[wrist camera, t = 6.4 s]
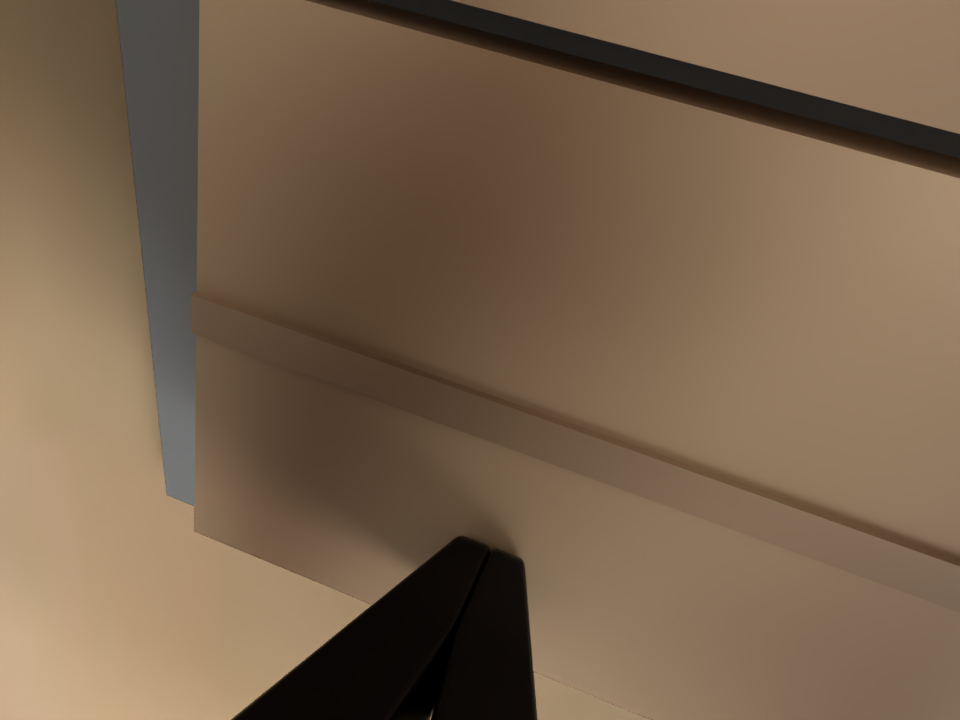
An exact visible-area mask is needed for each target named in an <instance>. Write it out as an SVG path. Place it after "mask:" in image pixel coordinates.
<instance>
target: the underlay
mask: <svg viewBox="0 0 960 720" xmlns="http://www.w3.org/2000/svg"><path fill="white" fill-rule="evenodd" d="M370 1H374V2H378V3H382V4H385V5H389V6H393V7H396V8H400V9H404V10H408V11H411V12H415V13H419V14H423V15H426V16H430V17H434V18H438V19H441V20H445V21H449V22H452V23H456V24H460V25H464V26H467V27H471V28H475V29H479V30H482V31H486V32H490V33H494V34H497V35H501V36H505V37H509V38H512V39H516V40H520V41H523V42H527V43H531V44H535V45H538V46H542V47H546V48H550V49H553V50H557V51H561V52H565V53H568V54H572V55H576V56H579V57H583V58H587V59H591V60H594V61H598V62H602V63H606V64H609V65H613V66H617V67H621V68H624V69H628V70H632V71H635V72H639V73H643V74H647V75H650V76H654V77H658V78H662V79H665V80H669V81H673V82H677V83H680V84H684V85H688V86H691V87H695V88H699V89H703V90H706V91H710V92H714V93H718V94H721V95H725V96H729V97H733V98H736V99H740V100H744V101H747V102H751V103H755V104H759V105H762V106H766V107H770V108H774V109H777V110H781V111H785V112H789V113H792V114H796V115H800V116H803V117H807V118H811V119H815V120H818V121H822V122H826V123H830V124H833V125H837V126H841V127H845V128H848V129H852V130H856V131H859V132H863V133H867V134H871V135H874V136H878V137H882V138H886V139H889V140H893V141H897V142H901V143H904V144H908V145H912V146H915V147H919V148H923V149H927V150H930V151H934V152H938V153H942V154H945V155H949V156H953V157H957V158H960V134H958V133H954V132H950V131H946V130H942V129H939V128H935V127H931V126H927V125H923V124H920V123H916V122H912V121H908V120H904V119H900V118H897V117H893V116H889V115H885V114H881V113H878V112H874V111H870V110H866V109H862V108H859V107H855V106H851V105H847V104H843V103H840V102H836V101H832V100H828V99H824V98H821V97H817V96H813V95H809V94H805V93H802V92H798V91H794V90H790V89H786V88H782V87H779V86H775V85H771V84H767V83H763V82H760V81H756V80H752V79H748V78H744V77H741V76H737V75H733V74H729V73H725V72H722V71H718V70H714V69H710V68H706V67H703V66H699V65H695V64H691V63H687V62H683V61H680V60H676V59H672V58H668V57H664V56H661V55H657V54H653V53H649V52H645V51H642V50H638V49H634V48H630V47H626V46H623V45H619V44H615V43H611V42H607V41H604V40H600V39H596V38H592V37H588V36H585V35H581V34H577V33H573V32H569V31H565V30H562V29H558V28H554V27H550V26H546V25H543V24H539V23H535V22H531V21H527V20H524V19H520V18H516V17H512V16H508V15H505V14H501V13H497V12H493V11H489V10H486V9H482V8H478V7H474V6H470V5H467V4H463V3H459V2H455V1H451V0H370ZM199 4H200V0H116V7H117V17H118V27H119V36H120V46H121V56H122V66H123V75H124V85H125V95H126V104H127V114H128V124H129V134H130V143H131V153H132V163H133V172H134V182H135V192H136V202H137V211H138V221H139V231H140V241H141V250H142V260H143V270H144V279H145V289H146V299H147V309H148V318H149V328H150V338H151V348H152V357H153V367H154V377H155V386H156V396H157V406H158V416H159V425H160V435H161V445H162V455H163V464H164V474H165V484H166V493H167V495H168V496H170V497H173V498H175V499H178V500H180V501H183V502H185V503H187V504H190V505H192V506H195V407H196V335H195V334H192V333H191V294H193V293H195V292H196V291H197V205H198V105H199Z"/></svg>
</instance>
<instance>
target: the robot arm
mask: <svg viewBox="0 0 960 720" xmlns="http://www.w3.org/2000/svg"><path fill="white" fill-rule="evenodd" d="M432 713H433V714H432ZM431 716H432V717H431ZM430 718H431V720H537V710H536V697H535V685H534V672H533V659H532V646H531V634H530V621H529V608H528V596H527V583H526V570H525V563H524V561H523V560H522V558H520V557H518V556H515V555H513V554H510V553H507V552H505V551H502V550H500V549H493V550H492V551H491V552H490V548H489V547H488V545H486V544H484V543H482V542H479V541H476V540H474V539H471V538H469V537H466V536H458V537H456V538H454V539H453V540H452V541H450V542H449V543H448V544H447V545H445V546H444V547H443V548H442V549H441V550H439V551H438V552H437V553H436V554H434V555H433V556H432V557H431V558H429V559H428V560H427V561H426V562H425V563H423V564H422V565H421V566H420V567H418V568H417V569H416V570H415V571H413V572H412V573H411V574H410V575H409V576H407V577H406V578H405V579H404V580H402V581H401V582H400V583H399V584H397V585H396V586H395V587H394V588H392V589H391V590H390V591H389V592H388V593H386V594H385V595H384V596H383V597H381V598H380V599H379V600H378V601H376V602H375V603H374V604H373V605H372V606H370V607H369V608H368V609H367V610H365V611H364V612H363V613H362V614H360V615H359V616H358V617H357V618H356V619H354V620H353V621H352V622H351V623H349V624H348V625H347V626H346V627H344V628H343V629H342V630H341V631H340V632H338V633H337V634H336V635H335V636H333V637H332V638H331V639H330V640H328V641H327V642H326V643H325V644H323V645H322V646H321V647H320V648H319V649H317V650H316V651H315V652H314V653H312V654H311V655H310V656H309V657H307V658H306V659H305V660H304V661H303V662H301V663H300V664H299V665H298V666H296V667H295V668H294V669H293V670H291V671H290V672H289V673H288V674H287V675H285V676H284V677H283V678H282V679H280V680H279V681H278V682H277V683H275V684H274V685H273V686H272V687H271V688H269V689H268V690H267V691H266V692H264V693H263V694H262V695H261V696H259V697H258V698H257V699H256V700H255V701H253V702H252V703H251V704H250V705H248V706H247V707H246V708H245V709H243V710H242V711H241V712H240V713H238V714H237V715H236V716H235V717H234V718H232V719H231V720H430Z"/></svg>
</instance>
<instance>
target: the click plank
mask: <svg viewBox="0 0 960 720" xmlns="http://www.w3.org/2000/svg"><path fill="white" fill-rule="evenodd" d="M191 333H192V334H195V335H196V407H195V508H194V531H195V532H197V533H199V534H202V535H204V536H207V537H209V538H212V539H214V540H216V541H219V542H221V543H224V544H226V545H228V546H231V547H233V548H236V549H238V550H241V551H243V552H245V553H248V554H250V555H253V556H255V557H257V558H260V559H262V560H265V561H267V562H270V563H272V564H274V565H277V566H279V567H282V568H284V569H287V570H289V571H291V572H294V573H296V574H299V575H301V576H303V577H306V578H308V579H311V580H313V581H316V582H318V583H320V584H323V585H325V586H328V587H330V588H333V589H335V590H337V591H340V592H342V593H345V594H347V595H349V596H352V597H354V598H357V599H359V600H362V601H364V602H366V603H369V604H371V605H373V604H374V603H375V602H376V601H378V600H379V599H380V598H381V597H383V596H384V595H385V594H386V593H388V592H389V591H390V590H391V589H392V588H394V587H395V586H396V585H397V584H399V583H400V582H401V581H402V580H404V579H405V578H406V577H407V576H409V575H410V574H411V573H412V572H413V571H415V570H416V569H417V568H418V567H420V566H421V565H422V564H423V563H425V562H426V561H427V560H428V559H429V558H431V557H432V556H433V555H434V554H436V553H437V552H438V551H439V550H441V549H442V548H443V547H444V546H445V545H447V544H448V543H449V542H450V541H452V540H453V539H454V538H456V537H458V536H466V537H469V538H471V539H474V540H476V541H479V542H482V543H484V544H486V545H488V547H489V548H490V552H491V551H492V550H493V549H500V550H502V551H505V552H507V553H510V554H513V555H515V556H518V557H520V558H522V560H523V561H524V563H525V570H526V583H527V596H528V608H529V621H530V634H531V646H532V659H533V672H536V673H538V674H541V675H543V676H546V677H548V678H550V679H553V680H555V681H558V682H560V683H562V684H565V685H567V686H570V687H572V688H575V689H577V690H579V691H582V692H584V693H587V694H589V695H592V696H594V697H596V698H599V699H601V700H604V701H606V702H608V703H611V704H613V705H616V706H618V707H621V708H623V709H625V710H628V711H630V712H633V713H635V714H638V715H640V716H642V717H645V718H647V719H650V720H960V158H957V157H953V156H949V155H945V154H942V153H938V152H934V151H930V150H927V149H923V148H919V147H915V146H912V145H908V144H904V143H901V142H897V141H893V140H889V139H886V138H882V137H878V136H874V135H871V134H867V133H863V132H859V131H856V130H852V129H848V128H845V127H841V126H837V125H833V124H830V123H826V122H822V121H818V120H815V119H811V118H807V117H803V116H800V115H796V114H792V113H789V112H785V111H781V110H777V109H774V108H770V107H766V106H762V105H759V104H755V103H751V102H747V101H744V100H740V99H736V98H733V97H729V96H725V95H721V94H718V93H714V92H710V91H706V90H703V89H699V88H695V87H691V86H688V85H684V84H680V83H677V82H673V81H669V80H665V79H662V78H658V77H654V76H650V75H647V74H643V73H639V72H635V71H632V70H628V69H624V68H621V67H617V66H613V65H609V64H606V63H602V62H598V61H594V60H591V59H587V58H583V57H579V56H576V55H572V54H568V53H565V52H561V51H557V50H553V49H550V48H546V47H542V46H538V45H535V44H531V43H527V42H523V41H520V40H516V39H512V38H509V37H505V36H501V35H497V34H494V33H490V32H486V31H482V30H479V29H475V28H471V27H467V26H464V25H460V24H456V23H452V22H449V21H445V20H441V19H438V18H434V17H430V16H426V15H423V14H419V13H415V12H411V11H408V10H404V9H400V8H396V7H393V6H389V5H385V4H382V3H378V2H374V1H370V0H200V4H199V105H198V205H197V291H196V292H195V293H193V294H191Z"/></svg>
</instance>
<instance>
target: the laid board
mask: <svg viewBox="0 0 960 720" xmlns="http://www.w3.org/2000/svg"><path fill="white" fill-rule="evenodd" d="M451 1H455V2H459V3H463V4H467V5H470V6H474V7H478V8H482V9H486V10H489V11H493V12H497V13H501V14H505V15H508V16H512V17H516V18H520V19H524V20H527V21H531V22H535V23H539V24H543V25H546V26H550V27H554V28H558V29H562V30H565V31H569V32H573V33H577V34H581V35H585V36H588V37H592V38H596V39H600V40H604V41H607V42H611V43H615V44H619V45H623V46H626V47H630V48H634V49H638V50H642V51H645V52H649V53H653V54H657V55H661V56H664V57H668V58H672V59H676V60H680V61H683V62H687V63H691V64H695V65H699V66H703V67H706V68H710V69H714V70H718V71H722V72H725V73H729V74H733V75H737V76H741V77H744V78H748V79H752V80H756V81H760V82H763V83H767V84H771V85H775V86H779V87H782V88H786V89H790V90H794V91H798V92H802V93H805V94H809V95H813V96H817V97H821V98H824V99H828V100H832V101H836V102H840V103H843V104H847V105H851V106H855V107H859V108H862V109H866V110H870V111H874V112H878V113H881V114H885V115H889V116H893V117H897V118H900V119H904V120H908V121H912V122H916V123H920V124H923V125H927V126H931V127H935V128H939V129H942V130H946V131H950V132H954V133H958V134H960V0H451Z"/></svg>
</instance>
